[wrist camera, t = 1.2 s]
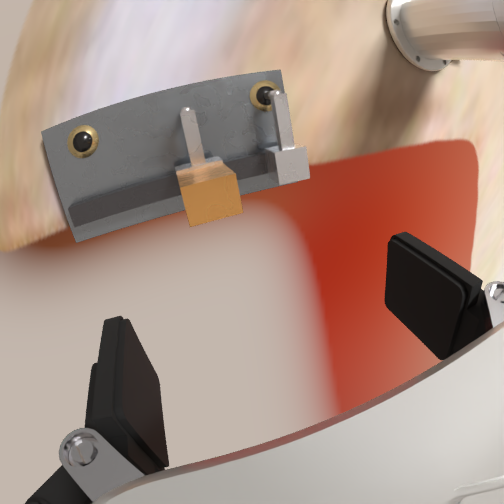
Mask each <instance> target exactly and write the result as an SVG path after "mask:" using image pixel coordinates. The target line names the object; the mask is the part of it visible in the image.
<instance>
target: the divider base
mask: <svg viewBox="0 0 504 504" xmlns="http://www.w3.org/2000/svg"><path fill="white" fill-rule="evenodd" d="M183 107H190V108H191V110H194V109H195V114H196V119H197V124H198V128H199V133H200V138H201V143H202V147H203V152H204V157H205V159H207V158H211V157H215V156H218V157H220V158H221V159H222V160H223V163H224V164H225V165H226V166H227V167H229V168H230V169H231V170H232V171H233V172H235V173H236V178H237V183H238V188H239V193H240V195H244V194H248V193H252V192H256V191H261V190H265V189H269V188H273V187H277V186H282V185H286V184H290V183H295V182H298V181H300V180H304V179H309V178H310V173H309V165H308V157H307V149H306V146H303V145H299V144H296V143H294V139H293V132H292V125H291V119H290V112H289V106H288V100H287V94H286V93H285V92H284V86H283V80H282V74H281V70H273V71H265V72H257V73H250V74H243V75H236V76H230V77H224V78H218V79H213V80H208V81H203V82H198V83H193V84H188V85H184V86H179V87H175V88H171V89H167V90H163V91H159V92H155V93H151V94H147V95H144V96H140V97H137V98H133V99H130V100H126V101H123V102H120V103H117V104H114V105H110V106H107V107H104V108H101V109H98V110H96V111H93V112H90V113H87V114H84V115H81V116H79V117H76V118H73V119H71V120H68V121H66V122H63V123H61V124H58V125H56V126H53V127H51V128H49V129H46V130H44V131H42V132H41V134H42V138H43V142H44V146H45V149H46V153H47V157H48V160H49V164H50V167H51V171H52V174H53V178H54V181H55V184H56V187H57V190H58V193H59V196H60V200H61V203H62V205H63V208H64V211H65V214H66V217H67V220H68V222H69V225H70V228H71V231H72V233H73V236H74V238H75V241H76V243H77V242H80V241H84V240H87V239H90V238H92V237H96V236H99V235H102V234H105V233H109V232H112V231H115V230H118V229H121V228H125V227H128V226H131V225H135V224H138V223H141V222H145V221H148V220H151V219H155V218H159V217H162V216H166V215H169V214H173V213H176V212H180V211H183V210H185V206H184V202H183V198H182V194H181V190H180V186H179V182H178V178H177V174H176V170H175V167H176V166H180V165H183V164H187V163H190V159H189V154H188V150H187V145H186V141H185V136H184V132H183V127H182V122H181V118H180V110H181V109H182V108H183Z"/></svg>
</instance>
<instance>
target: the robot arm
mask: <svg viewBox="0 0 504 504" xmlns="http://www.w3.org/2000/svg"><path fill="white" fill-rule="evenodd" d="M386 17H387V23H388V27H389V31H390V34H391V36H392V38H393V40H394V42H395V44H396V46H397V47H398V49H399V50H400V52H401V53H402V54H403V56H404V57H405V58H406V59H407V60H408V61H409V62H410V63H412V64H413V65H415V66H416V67H418V68H420V69H422V70H426V71H438V70H442V69H444V68H445V67H446V66H447V65H448V64H449V63H450V61H451V60H488V61H504V0H388V2H387V7H386ZM482 282H483V281H482V280H481V279H480V278H478V277H477V276H475V275H474V274H472V273H471V272H469V271H468V270H466V269H465V268H463V267H462V266H460V265H459V264H457V263H456V262H454V261H453V260H451V259H449V258H448V257H446V256H445V255H443V254H442V253H440V252H439V251H437V250H435V249H434V248H432V247H431V246H429V245H427V244H426V243H424V242H422V241H421V240H419V239H417V238H416V237H414V236H413V235H411V234H409V233H407V232H402V233H399V234H396V235H393V236H392V237H391V239H390V241H389V242H388V253H387V272H386V287H385V304H386V307H387V308H388V309H389V310H390V311H391V312H392V313H393V314H394V315H395V316H396V317H397V318H398V319H399V320H400V321H401V322H402V323H403V324H404V325H405V326H406V327H407V328H408V329H409V330H410V331H411V332H413V333H414V334H415V335H416V336H417V337H418V338H419V339H420V340H421V341H422V342H423V343H424V344H425V345H426V346H427V347H428V348H429V349H430V350H431V351H432V352H433V353H434V354H435V356H436V357H438V359H440V360H443V361H442V362H440V363H438V364H437V365H435V366H434V367H432V368H430V369H428V370H427V371H425V372H423V373H421V374H420V375H418V376H416V377H414V378H413V379H411V380H409V381H407V382H405V383H403V384H402V385H400V386H398V387H396V388H394V389H392V390H390V391H388V392H386V393H384V394H382V395H380V396H378V397H376V398H374V399H372V400H370V401H368V402H366V403H364V404H362V405H360V406H357V407H355V408H353V409H351V410H349V411H346V412H344V413H342V414H339V415H337V416H335V417H332V418H330V419H328V420H325V421H323V422H321V423H318V424H315V425H313V426H310V427H308V428H305V429H303V430H300V431H298V432H295V433H292V434H289V435H286V436H283V437H281V438H278V439H275V440H272V441H269V442H266V443H263V444H260V445H257V446H253V447H250V448H247V449H243V450H240V451H237V452H233V453H230V454H226V455H223V456H219V457H215V458H211V459H208V460H204V461H200V462H195V463H191V464H187V465H183V466H180V467H176V468H171V469H167V470H165V469H164V467H168V466H169V460H168V454H167V445H166V438H165V430H164V421H163V412H162V403H161V392H160V383H159V379H158V376H157V374H156V372H155V370H154V368H153V366H152V364H151V362H150V361H149V359H148V357H147V355H146V353H145V351H144V349H143V347H142V345H141V343H140V341H139V339H138V337H137V335H136V333H135V331H134V329H133V327H132V324H131V322H130V320H129V319H123V317H122V316H118V317H114V318H110V319H106V320H105V321H104V325H103V331H102V337H101V343H100V349H99V357H98V363H94V364H93V366H92V369H91V376H90V384H89V392H88V400H87V409H86V419H85V428H80V429H77V430H74V431H72V432H71V433H69V434H68V435H67V436H66V437H65V438H64V440H63V441H62V443H61V445H60V449H59V458H60V461H61V463H62V466H61V467H60V468H59V469H58V470H57V471H56V472H55V473H54V474H53V475H52V476H51V477H50V478H49V479H48V480H47V481H46V482H45V483H44V484H43V485H42V486H41V487H40V488H39V489H38V490H37V491H36V492H35V493H34V494H33V495H32V496H31V497H30V498H29V499H28V500H27V501H26V503H25V504H504V282H499V281H497V282H491V283H489V284H487V285H486V287H485V289H484V291H483V290H482V289H481V286H482Z"/></svg>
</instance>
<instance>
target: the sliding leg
mask: <svg viewBox="0 0 504 504" xmlns="http://www.w3.org/2000/svg"><path fill="white" fill-rule="evenodd" d="M180 118H181V122H182V127H183V132H184V136H185V141H186V145H187V150H188V154H189V159H190V163H187V164H183V165H180V166H176V167H175V170H176V174H177V178H178V182H179V186H180V190H181V194H182V198H183V202H184V206H185V210H186V214H187V217H188V221H189V225H190V227H192V226H196V225H199V224H203V223H207V222H210V221H214V220H218V219H222V218H225V217H229V216H233V215H237V214H240V213H243V208H242V203H241V198H240V193H239V188H238V183H237V178H236V173H235V172H233V171H232V170H231V169H230V168H229V167H227V166H226V165H225V164H224V163H223V160H222V159H221V158H220V157H218V156H215V157H211V158H207V159H205V157H204V152H203V147H202V143H201V138H200V133H199V128H198V124H197V119H196V114H195V109H194V110H191V108H190V107H183V108H182V109H181V110H180Z"/></svg>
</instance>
